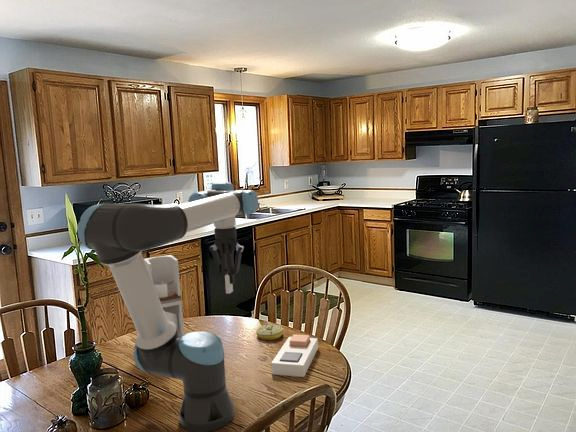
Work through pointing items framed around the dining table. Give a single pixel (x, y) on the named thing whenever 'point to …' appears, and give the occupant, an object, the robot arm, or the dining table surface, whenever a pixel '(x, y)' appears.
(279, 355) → the key panel
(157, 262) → the display case
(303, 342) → the terracotta key
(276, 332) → the decorated donut
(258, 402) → the dining table surface
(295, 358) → the charcoal key
